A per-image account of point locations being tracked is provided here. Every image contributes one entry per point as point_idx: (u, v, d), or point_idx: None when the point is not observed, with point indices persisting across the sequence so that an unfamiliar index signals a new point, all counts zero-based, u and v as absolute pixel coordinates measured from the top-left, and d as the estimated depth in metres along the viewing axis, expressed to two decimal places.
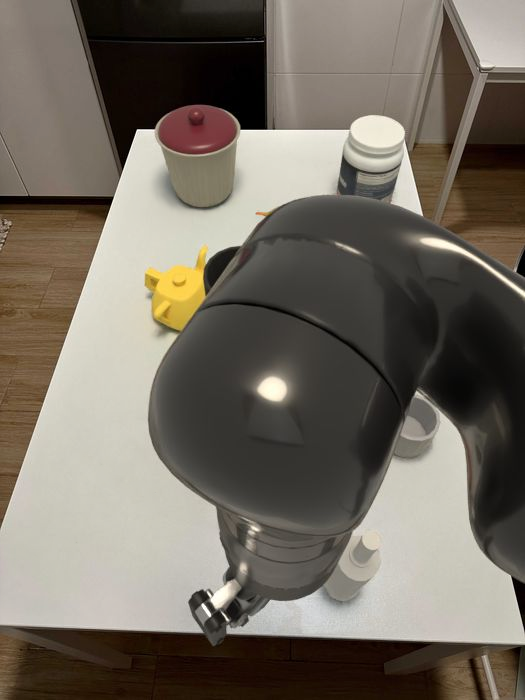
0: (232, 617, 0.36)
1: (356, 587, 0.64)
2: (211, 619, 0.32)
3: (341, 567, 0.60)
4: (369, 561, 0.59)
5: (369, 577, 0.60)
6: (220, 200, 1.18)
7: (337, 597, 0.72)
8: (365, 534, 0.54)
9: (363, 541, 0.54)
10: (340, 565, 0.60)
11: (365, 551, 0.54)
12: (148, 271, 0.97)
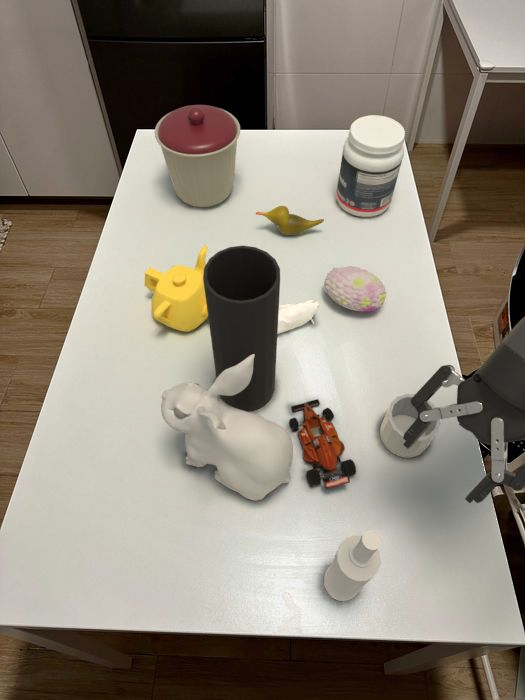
0: (428, 409, 0.58)
1: (356, 587, 0.64)
2: (448, 366, 0.57)
3: (341, 567, 0.60)
4: (369, 561, 0.59)
5: (369, 577, 0.60)
6: (220, 200, 1.18)
7: (337, 597, 0.72)
8: (365, 534, 0.54)
9: (363, 541, 0.54)
10: (340, 565, 0.60)
11: (365, 551, 0.54)
12: (148, 271, 0.97)
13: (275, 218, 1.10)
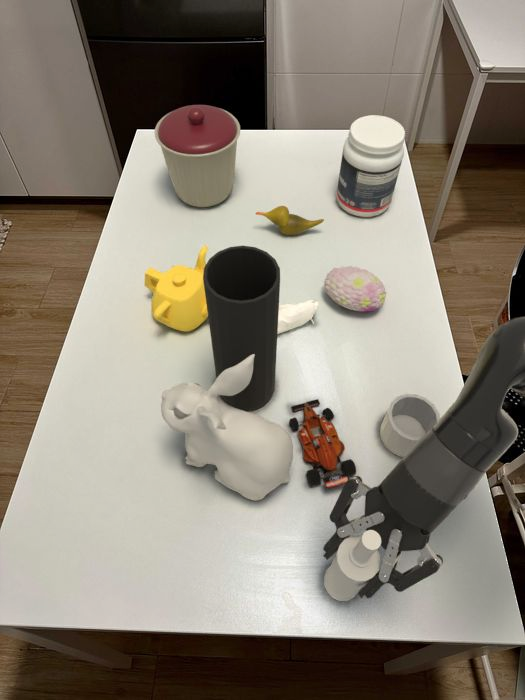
0: None
1: (356, 587, 0.64)
2: (353, 479, 0.62)
3: (341, 567, 0.60)
4: (369, 561, 0.59)
5: (369, 577, 0.60)
6: (220, 200, 1.18)
7: (337, 597, 0.72)
8: (365, 534, 0.54)
9: (363, 541, 0.54)
10: (340, 565, 0.60)
11: (365, 551, 0.54)
12: (148, 271, 0.97)
13: (275, 218, 1.10)
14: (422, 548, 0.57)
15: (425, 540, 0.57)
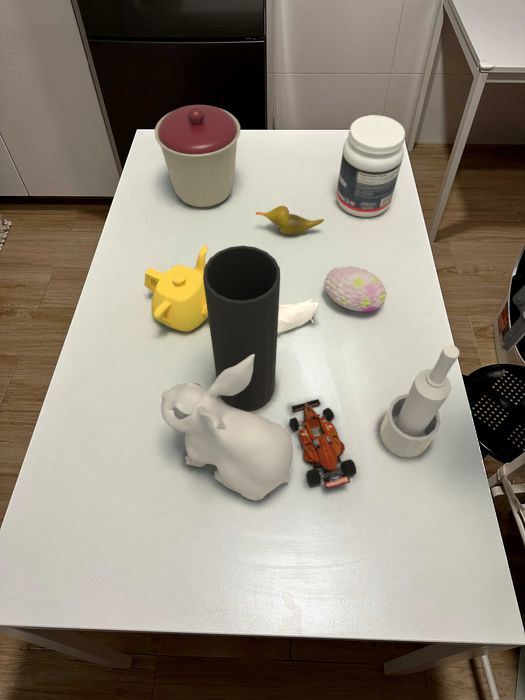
0: None
1: (428, 415, 0.76)
2: None
3: (419, 390, 0.73)
4: (443, 382, 0.72)
5: (443, 397, 0.72)
6: (220, 200, 1.18)
7: None
8: (445, 347, 0.67)
9: (444, 352, 0.66)
10: (418, 389, 0.73)
11: (445, 362, 0.67)
12: (148, 271, 0.97)
13: (275, 218, 1.10)
14: None
15: None
